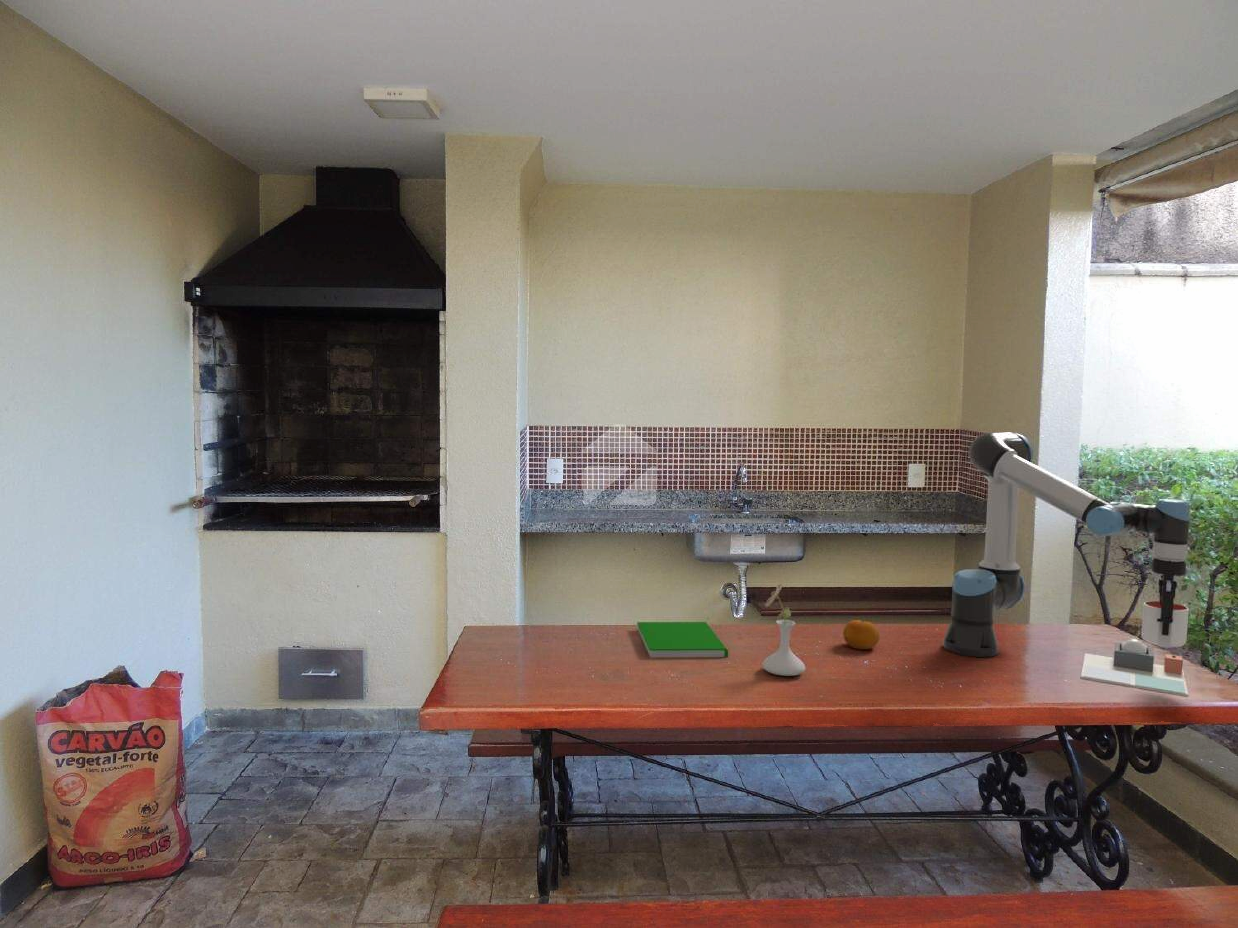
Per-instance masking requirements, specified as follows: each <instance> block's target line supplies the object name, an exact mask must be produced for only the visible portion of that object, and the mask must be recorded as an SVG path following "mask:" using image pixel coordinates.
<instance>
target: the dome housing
mask: <svg viewBox="0 0 1238 928" xmlns="http://www.w3.org/2000/svg"><path fill="white" fill-rule="evenodd" d="M1113 651H1114V653H1113V658H1114V664H1113V666H1116V667H1122V668H1128V669H1134V670H1141V671H1147V672H1153V664H1155V662H1154V660H1155V654H1154V653H1155V652H1154V648H1153V647H1147V651H1146V654H1141V653H1135V652H1128V651H1122V642H1121V643H1119V642H1114V650H1113Z"/></svg>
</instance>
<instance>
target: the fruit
mask: <svg viewBox="0 0 1238 928" xmlns="http://www.w3.org/2000/svg"><path fill="white" fill-rule="evenodd" d="M842 635H843V639H844V641H845V643H847V645H848V646H850V647H851V648H853V649H857V650H869V649H872V648H875V646H876V645H877V644H878V642H879V641H880V632H879V629H878V628H877V626H876V625H875V624H874V623H872V622H870V621H863V620H860V619H854V620H850V621H849V622H847V624H846V625H845V626H844V628H843V634H842Z"/></svg>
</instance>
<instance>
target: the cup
mask: <svg viewBox="0 0 1238 928" xmlns="http://www.w3.org/2000/svg"><path fill="white" fill-rule="evenodd" d="M1189 612H1190V611H1189V607H1187V606H1185V605H1182V604H1180V603H1179V604H1178V603H1174V602H1173V618H1172V619H1173V622H1172V631H1171V644H1170V648H1179V647H1183V646H1184V645H1186V643H1187V636H1188V625H1189V624H1188V621H1189ZM1164 617H1167V616H1164ZM1141 618H1142V619H1141V631H1140V632H1141V633H1140V635H1141V638H1142V639H1143V641H1145V642H1147V643H1149V644H1152V645H1156V646H1158V635H1159V622H1157V619H1160V618H1161V605H1160V601H1159V600H1158V601H1157V600H1154V601H1153V600H1148V601H1144V602H1143V607H1142V617H1141Z"/></svg>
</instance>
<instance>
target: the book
mask: <svg viewBox="0 0 1238 928" xmlns="http://www.w3.org/2000/svg"><path fill="white" fill-rule="evenodd" d="M636 624H637V631H638V633H639V636H640V638H641V639H642V642H643V645H644V646H645V649H646V651H647V653H648V656H649V657H650V658H729V650H728V649H727V648H726V646H725V645H724V643H723V642H722V640H720V638H719V637H718V636H717V634H716V633H715V631H714V630H713V629H712V627H710V625H709V624H708V623H707V622H706V621H648V622H647V621H637V622H636Z"/></svg>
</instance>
